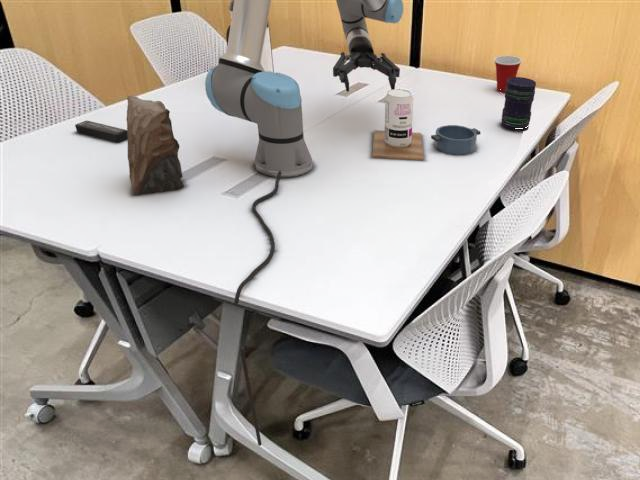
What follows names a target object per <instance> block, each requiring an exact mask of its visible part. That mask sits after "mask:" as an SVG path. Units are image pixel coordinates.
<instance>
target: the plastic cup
mask: <svg viewBox="0 0 640 480" xmlns="http://www.w3.org/2000/svg"><path fill="white" fill-rule="evenodd" d="M522 61H523V59H522V58H521V57H518V56H514V55H499V56H496V57H494V58H493V62H494V65H495V73H496V74H495V75H496V76H495V79H496V90H497V92H499V93H503V94H505V90H506V85H507V79H508V78H511V77H517V75H518V71H519V68H520V66H521V63H522ZM500 89H501V90H500Z"/></svg>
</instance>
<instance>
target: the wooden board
mask: <svg viewBox="0 0 640 480" xmlns="http://www.w3.org/2000/svg"><path fill="white" fill-rule="evenodd" d="M372 141H373V143H372V155H371V157H372V159H373V158H374V159H388V160H390V159H391V160H407V161H408V160H410V161H424V150H423V140H422V132H413V131H412V142H411V144H409V146H407V147H403V148H396V147H391V146H389V145H388V144H387V143H386V142H385V130H377V129H376V130H373V140H372Z"/></svg>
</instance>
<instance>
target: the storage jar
mask: <svg viewBox="0 0 640 480" xmlns="http://www.w3.org/2000/svg"><path fill="white" fill-rule="evenodd" d="M536 86H537V82H536V81H535V80H533V79H530V78H527V77H522V76H521V77H520V76H516V77H511V78H508V79H507V85H506V90H505V93H504V98H505V99H504V105H503V108H502V110H501V111H502V112H501V122H500V127H501V128H502V129H504V130H507V131H510V132H516V133H522V132H527V131H528V130H529V127H530V126H529V125H530V122H531V116H532V105H533V101H534V100H535V94H536ZM527 126H528V127H527ZM525 127H527V128H525ZM515 128H523V129H515Z"/></svg>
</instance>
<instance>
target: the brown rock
mask: <svg viewBox="0 0 640 480" xmlns="http://www.w3.org/2000/svg"><path fill="white" fill-rule="evenodd" d="M126 99H127V100H126V101H127V107H126V120H125V121H126V130H127V135H128V139H127V160H128V169H129V176H128V177H129V180H130V184H131V188H132V191H133V196H139V195H146V194H147V195H148V194H154V193H164V192H168V191H178V190H180V189H183V188H184V187H185V185H184V183H183V181H182V178H183V177H184V176H183V172H182V171H183V170H182V165H181V162H180V159H179V150H180V144H179V141H178V139H176V138H175V135H174V131H173V126H172V119H171V118H170V113H171V111H170V109H168V108H166V106H165V104H164V103H163V102H162V101H161V100H154V101H153V100H150V99H149V100H148V99H141V98H139V97H138V96H132V95H128V96H127V98H126Z"/></svg>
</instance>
